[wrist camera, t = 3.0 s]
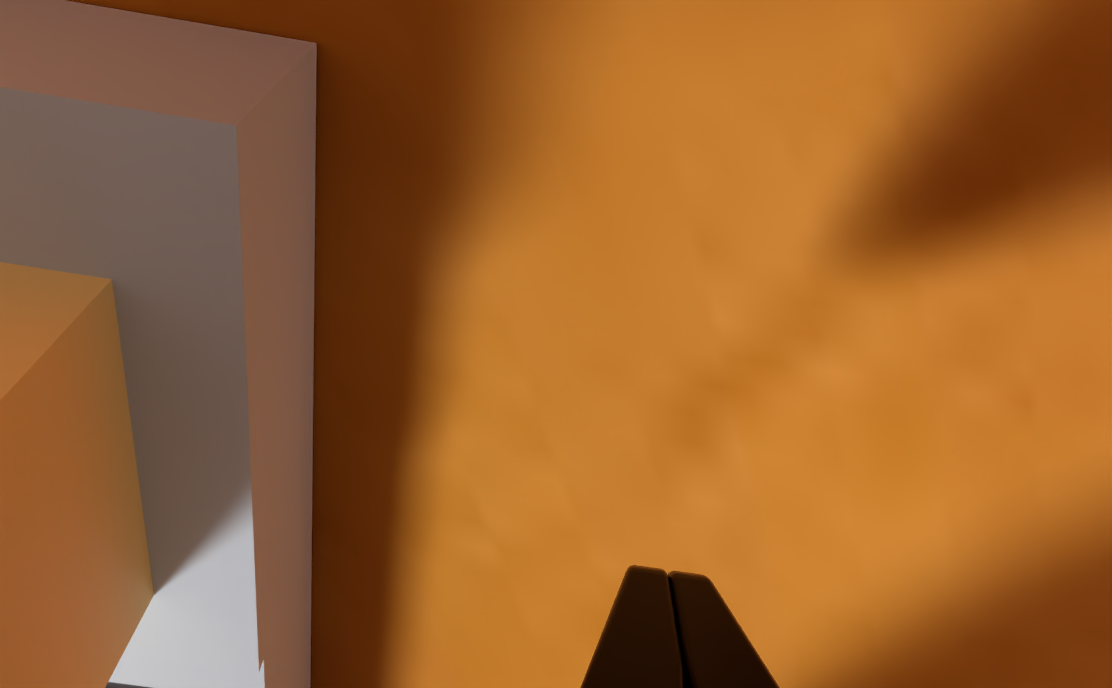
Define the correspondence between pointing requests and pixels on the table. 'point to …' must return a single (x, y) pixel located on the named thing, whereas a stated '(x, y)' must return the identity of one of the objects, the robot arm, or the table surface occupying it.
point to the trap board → (186, 304)
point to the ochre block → (66, 484)
